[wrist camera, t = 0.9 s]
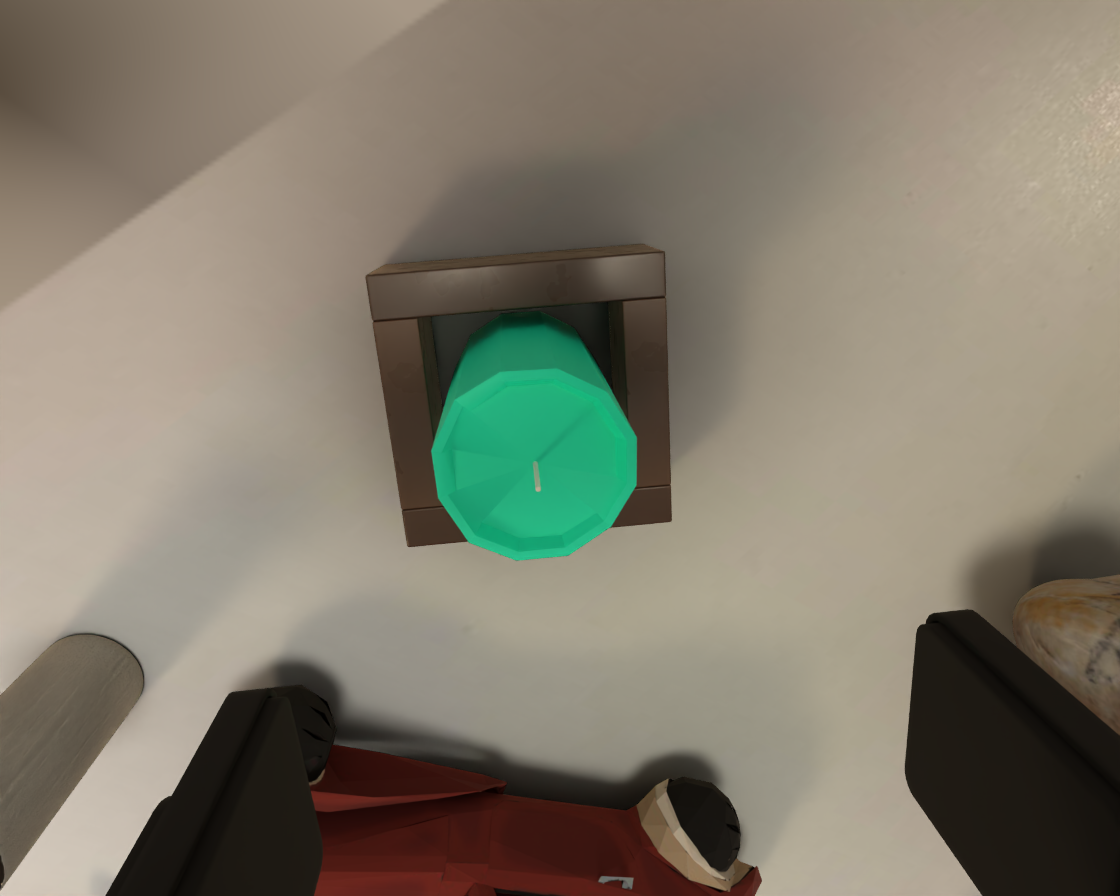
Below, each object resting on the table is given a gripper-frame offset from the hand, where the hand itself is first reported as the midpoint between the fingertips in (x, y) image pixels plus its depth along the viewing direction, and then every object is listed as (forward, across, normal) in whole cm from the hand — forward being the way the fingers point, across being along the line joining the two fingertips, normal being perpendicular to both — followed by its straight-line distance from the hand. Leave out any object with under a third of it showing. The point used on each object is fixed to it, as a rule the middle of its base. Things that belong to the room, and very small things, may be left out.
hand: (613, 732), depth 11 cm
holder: (+22, 0, 0) cm, 22 cm away
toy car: (+22, +5, +23) cm, 32 cm away
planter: (+22, +22, +12) cm, 33 cm away
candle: (+22, 0, 0) cm, 22 cm away
